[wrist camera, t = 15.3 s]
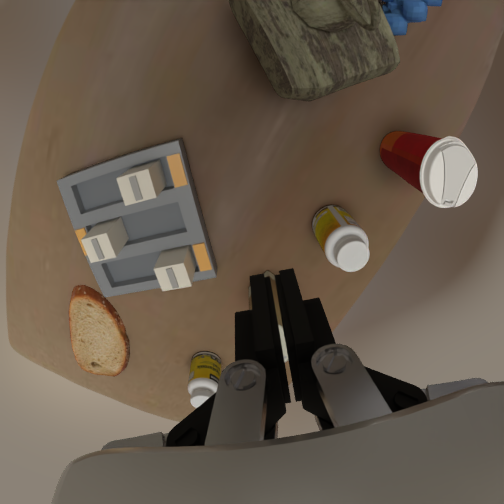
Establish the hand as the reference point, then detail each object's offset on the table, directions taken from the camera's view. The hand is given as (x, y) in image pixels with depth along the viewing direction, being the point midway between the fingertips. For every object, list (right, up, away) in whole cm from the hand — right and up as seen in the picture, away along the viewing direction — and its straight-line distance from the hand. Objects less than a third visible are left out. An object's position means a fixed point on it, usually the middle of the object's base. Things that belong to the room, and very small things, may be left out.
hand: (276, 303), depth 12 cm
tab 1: (-20, +5, +29) cm, 36 cm away
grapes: (+16, +34, +18) cm, 41 cm away
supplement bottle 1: (-9, -18, +43) cm, 47 cm away
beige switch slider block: (-14, +12, +26) cm, 32 cm away
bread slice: (-30, -13, +40) cm, 52 cm away
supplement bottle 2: (+10, +6, +31) cm, 34 cm away
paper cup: (+19, +16, +27) cm, 37 cm away
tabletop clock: (+3, +28, +20) cm, 34 cm away
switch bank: (-17, +6, +30) cm, 35 cm away
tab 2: (-11, +1, +31) cm, 33 cm away
